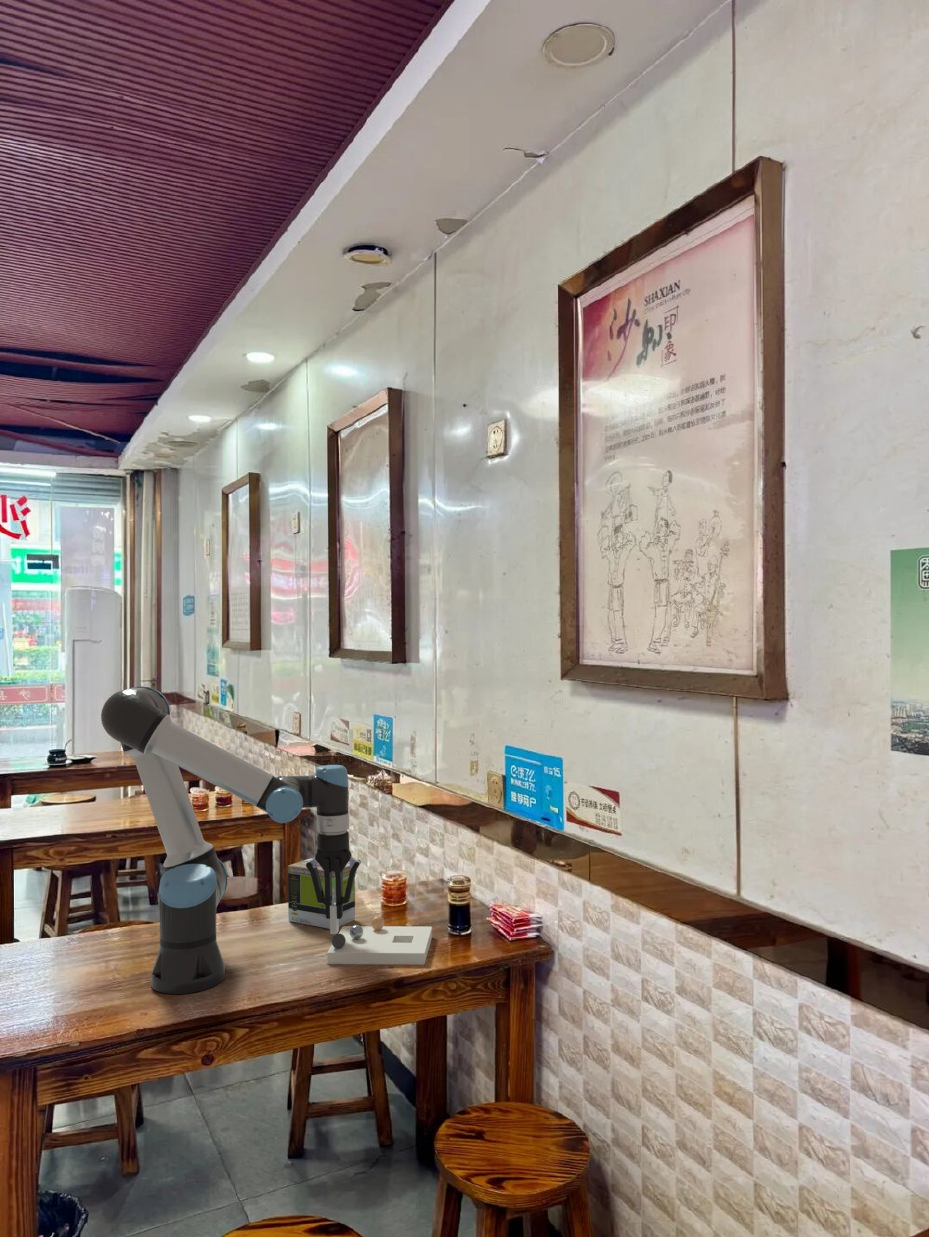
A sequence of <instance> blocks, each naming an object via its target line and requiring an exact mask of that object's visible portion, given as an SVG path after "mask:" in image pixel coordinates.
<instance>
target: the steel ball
mask: <svg viewBox="0 0 929 1237" xmlns="http://www.w3.org/2000/svg"><path fill="white" fill-rule="evenodd" d="M351 926H352V927H351V929H350V936H351V937H352V938H353V939H359V938H361V937H362V935H363V929H362V927H361V925H360V924H354V925H351Z"/></svg>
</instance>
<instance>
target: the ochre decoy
mask: <svg viewBox="0 0 929 1237" xmlns="http://www.w3.org/2000/svg"><path fill="white" fill-rule="evenodd" d="M384 920H385V919H384V918H383V917H382V916H380V915H379V916H378V915H377V916H373V918H372V919H371V922H370V926H372V928H373V929H375V930H380V929H382V928H383V926H385V921H384Z"/></svg>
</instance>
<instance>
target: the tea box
mask: <svg viewBox="0 0 929 1237" xmlns="http://www.w3.org/2000/svg"><path fill="white" fill-rule="evenodd" d="M314 858H315V857H311V858H307V859H303V860H301V861H298V862H295V863H292V864H289V865H287V906H288V907H287V908H288V912H287V913H288V914H287V915H288V916H287V917H288V918H287V919H288V922H293V923H297V924H303V925H308V926H313V927H319V928H323V929H328V930H330V919H327V918H326V906H325V904H323V903H319V902H318V901H317V897H316V893H315V889H314V885H313V881H312V877H311V873H310V871H309V870H308V868H307V867H306V864H307V862H308V861H309V860H312V859H314ZM317 864H318V866H317V869H318V872H319V876H320V880H321V884H322V888H323V892H324V896H325V876H324V870H323V869H322V867H321V866H320V865H319V863H318V862H317ZM350 870H351V868H350V862H348V863H347V865H346V866H345V868H344V869H343V897H344V896H345V891H346V887H347V882H348V878H349V873H350ZM355 880H356V879H355ZM355 880H354V884H353V889H352V893H351V898H350V900H349V901H348V902H347V903H344V904H343V916H342V918H341V919H339V928H340V927H343V926H345V925H346V924H348V923H350V922H353V921H354V920H355V919H356V885H355V884H356V882H355ZM332 899H333V900H332V903H336V877H335V872H333V871H332Z"/></svg>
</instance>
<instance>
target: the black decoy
mask: <svg viewBox="0 0 929 1237" xmlns="http://www.w3.org/2000/svg"><path fill="white" fill-rule="evenodd" d="M345 942H346V939H345V937H344V935H342V934H339V933H337V934H333V936H332V938H331V946H332V945H333V946H334V947H335V948H342V947H343V946H344V945H345Z"/></svg>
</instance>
